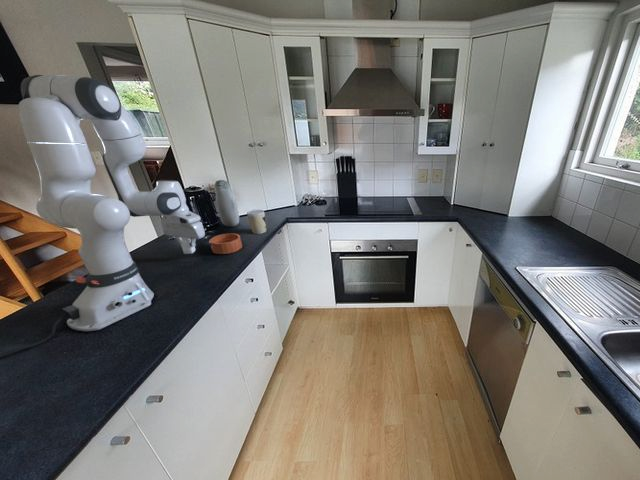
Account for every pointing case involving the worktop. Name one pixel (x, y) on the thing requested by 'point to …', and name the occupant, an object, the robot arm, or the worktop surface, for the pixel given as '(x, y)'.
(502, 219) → the worktop surface
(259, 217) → the coffee cup
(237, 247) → the bowl
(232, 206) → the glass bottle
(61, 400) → the worktop surface
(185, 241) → the pepper shaker
